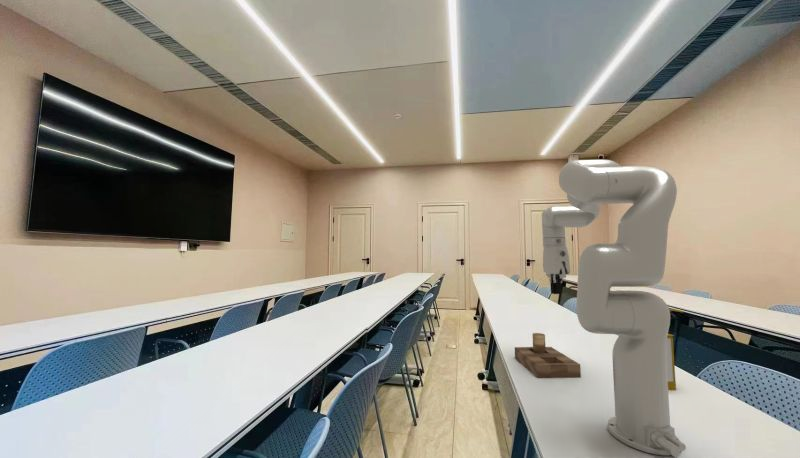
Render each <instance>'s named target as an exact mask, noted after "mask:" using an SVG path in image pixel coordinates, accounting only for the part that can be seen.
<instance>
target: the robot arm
mask: <svg viewBox="0 0 800 458" xmlns="http://www.w3.org/2000/svg"><path fill="white" fill-rule="evenodd" d="M558 185H559V187H560V189H561V190H562V191H563V193H565V194H566V199H567V201H568V203H570V205H551V206H549V207H548V208H547V209H546V210H545V209H544V210H543V211H542V213H541V230H542V247H543V251H542V268H543V272H544V273H545V276H546V277H548V280H549V283H550V293H551V294H553V295H562V294H563V288H562V283H563V280H564V279H566V278H567V276H566V275H569V274H570V273H571V265H570V256H569V251H568V248H567V244H566V243H567V238H566V228H584V227H586V226H587V227H588V226H589V225H591V224H592V223H593V222H594V221H596V220H597V219H598V217H599V215H600V212H601V205H602V204H603V205H605V204H606V205H611V204H613V205H614V204H632V205H631V206H630V207H629V208H628V209H627V210H626V211H625V213H623V215H622V216H621V218H620V220H619V222H618V225H617V238H616V242H615V243H595V244H591V245H588V246H587V247H586V248H585V249H584V250H583V251H582V253H581V254H580V257H579V261H578V268H577V286H576V287H577V289H576V290H577V291H576V316H577V320H578V323H579V324H580V326H581V327H582V328H583V329H584V330H585V331H587V332H588V333H592V334H598V335H599V334H600V335H618V337H617V338H616V340H615V342H614V344H613V349H612V355H611V356H612V374H613V375H612V376H613V377H612V379H613V397H614V398H613V399H614V416H613V417H611V418H609V419H608V420H607V422H606V423H607V430H608V431H609V433H610V434H611V435H612V436H613V437H614V438H615V439H617V440H618V441H620V442H621V443H623V444H625V445H627V446H630V447H631V448H634V449H635V450H638V451H642V452H644V453H648V454H651V455H658V456H673V457H675V458H677V457H679V456H680V454H681V452H682V451H685V450H686V444H685V443H683V442H682V441H681V440H680V438H679V437H678V436H677V435H676V434H675V433H676V431H675V427H673V426H671V416H670V400H669V390H668V379H667V358H666V345H667V336H668V334H669V329H670V326H671V310H669V309H670V308H669V306H668V304H667V302H666V301H665V300H664V299H663V298H661V297H660V296H659V295H657V294H654V293H652V292H650V291H643V290H611V288H613V287H614V288H615V287H616V288H617V287H618V288H619V287H623V288H624V287H626V288H627V287H629V288H631V287H633V288H635V287H636V288H637V287H639V288H641V287H652V286H655V285H658V284H659V283H661V282H662V279H663V278H664V274H665V270H666V269H665V268H666V258H667V249H668V248H667V247H668V234H669V233H668V232H669V231H668V230H669V224H670V223H669V222H670V219H671V217H672V213H673V210H674V207H675V204H676V201H677V200H676V199H677V193H678V189H677V184H676V181H675V178H674V177H673V175H672V174H671V173H670V172H669V171H667V170H666V169H663V168H661V167H656V166H648V165H647V166H645V165H629V166H628V165H627V166H626V165H625V166H621V165H620V164H619V163H617V162H616V161H614V160H611V159H575V160H570V161H568V162H567V163H565V164H564V165H563V166H562V167H561V170H560V172H559V175H558Z"/></svg>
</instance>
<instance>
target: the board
mask: <svg viewBox="0 0 800 458" xmlns="http://www.w3.org/2000/svg"><path fill="white" fill-rule="evenodd" d="M545 347H546V353H542V354H535V353H534V351H533V346H515V347H514V359H516V360H517V361H518V362H519V363H520V364H521V365H522V366H523V367H524V368H526V370H528V371H529V372H530V373H532V374H533V376H535V377H536V378H537V379H553V378H554V379H561V378H562V379H565V378H566V379H567V378H575V379H576V378H581V376H582V374H581V371H582V369H581V364H580V363H579V362H577V361H575V360H573V359H572V358H570V357H569V356H567V355H565V354H564V353H563V352H560V351H559V350H557V349H555V348H554V347H552V346H545Z"/></svg>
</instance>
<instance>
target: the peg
mask: <svg viewBox="0 0 800 458" xmlns="http://www.w3.org/2000/svg"><path fill="white" fill-rule="evenodd" d="M532 347H533V351H534V353H535V354H542V353H546V347H547V346H546V334H544V333H542V332H541V333H540V332H533V333H532Z"/></svg>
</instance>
